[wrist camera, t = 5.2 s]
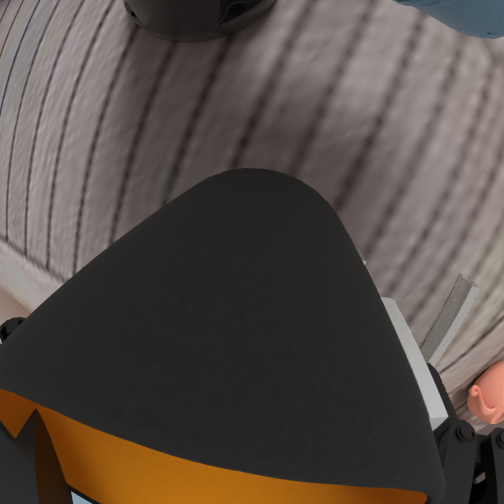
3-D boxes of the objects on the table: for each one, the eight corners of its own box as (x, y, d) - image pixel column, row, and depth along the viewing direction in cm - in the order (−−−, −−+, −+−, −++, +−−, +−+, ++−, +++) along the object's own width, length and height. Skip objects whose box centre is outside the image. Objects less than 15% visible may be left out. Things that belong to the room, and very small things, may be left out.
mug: (294, 393, 16) (285, 557, 6) (131, 256, 13) (-17, 423, 4) (416, 318, 13) (489, 500, 3) (254, 123, 10) (-16, 103, 1)
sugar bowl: (488, 397, 36) (505, 433, 27) (445, 402, 36) (461, 446, 27) (523, 351, 31) (546, 387, 22) (484, 351, 31) (510, 396, 22)
